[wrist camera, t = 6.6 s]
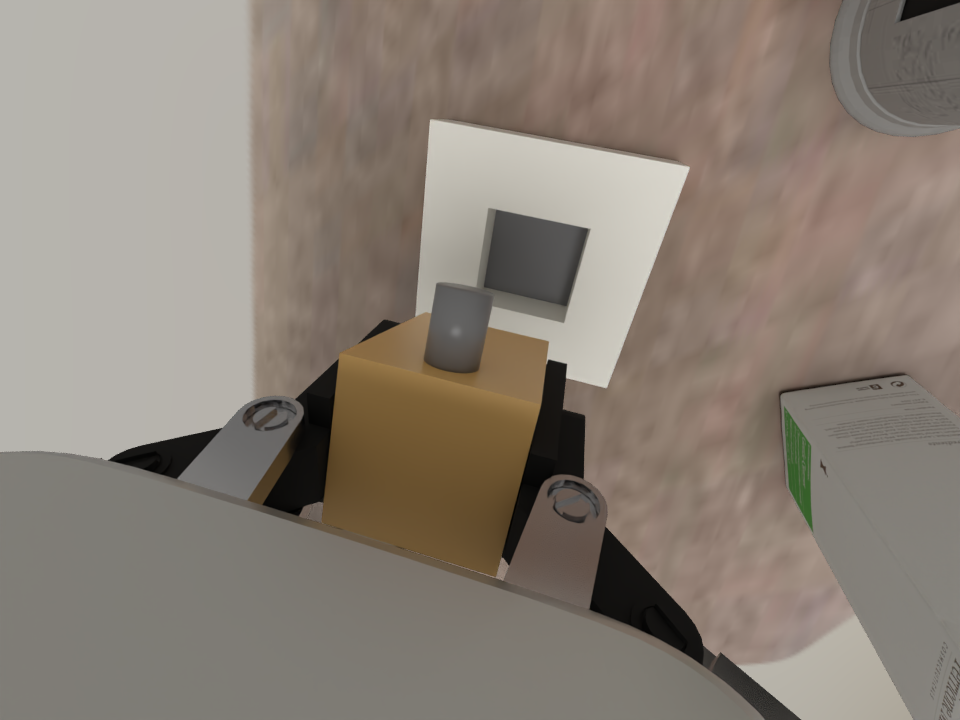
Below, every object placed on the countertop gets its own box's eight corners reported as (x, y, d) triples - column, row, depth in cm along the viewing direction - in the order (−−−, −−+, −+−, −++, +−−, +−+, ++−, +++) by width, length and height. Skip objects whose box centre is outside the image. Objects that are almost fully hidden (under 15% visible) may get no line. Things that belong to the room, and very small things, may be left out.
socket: (605, 363, 27) (606, 388, 25) (429, 319, 29) (413, 339, 26) (678, 161, 21) (690, 166, 18) (448, 119, 22) (430, 119, 20)
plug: (520, 455, 14) (495, 577, 9) (407, 424, 15) (321, 522, 9) (562, 290, 12) (563, 319, 7) (434, 261, 13) (348, 270, 8)
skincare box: (777, 388, 25) (974, 677, 12) (918, 368, 23) (1348, 699, 10) (784, 490, 29) (944, 803, 16) (907, 481, 26) (1219, 842, 13)
